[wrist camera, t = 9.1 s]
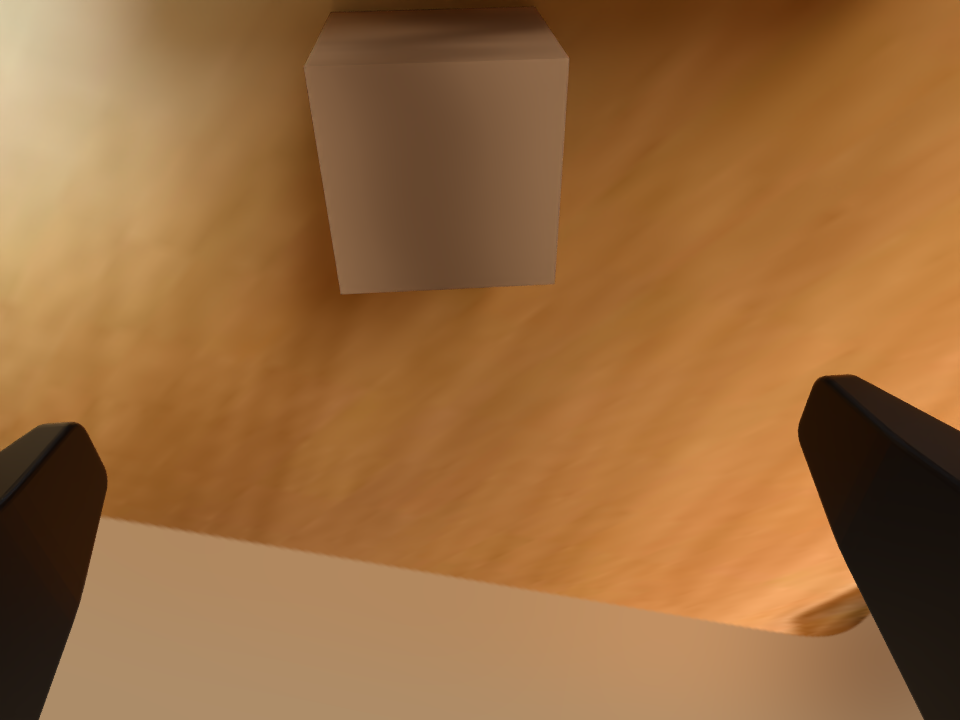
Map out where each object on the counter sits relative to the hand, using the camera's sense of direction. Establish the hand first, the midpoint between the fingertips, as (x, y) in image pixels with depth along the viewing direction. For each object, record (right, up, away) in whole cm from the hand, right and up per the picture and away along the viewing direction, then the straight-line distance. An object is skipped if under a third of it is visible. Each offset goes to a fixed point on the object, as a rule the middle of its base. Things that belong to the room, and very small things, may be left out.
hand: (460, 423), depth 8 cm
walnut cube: (-1, +7, +10) cm, 12 cm away
